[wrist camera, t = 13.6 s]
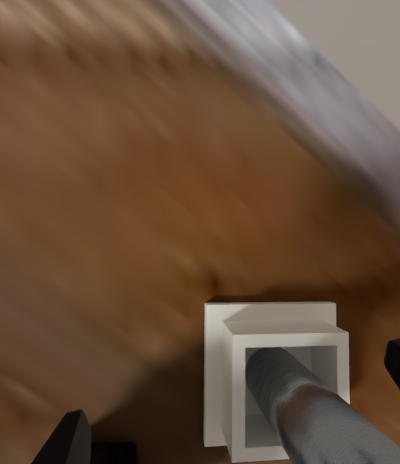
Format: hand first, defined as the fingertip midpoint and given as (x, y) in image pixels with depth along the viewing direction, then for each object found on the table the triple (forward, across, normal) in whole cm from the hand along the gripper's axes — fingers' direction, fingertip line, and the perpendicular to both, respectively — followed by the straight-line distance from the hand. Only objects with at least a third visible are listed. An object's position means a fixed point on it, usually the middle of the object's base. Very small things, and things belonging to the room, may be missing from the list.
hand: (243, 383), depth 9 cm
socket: (+10, -4, +12) cm, 16 cm away
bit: (+10, -4, +12) cm, 16 cm away
